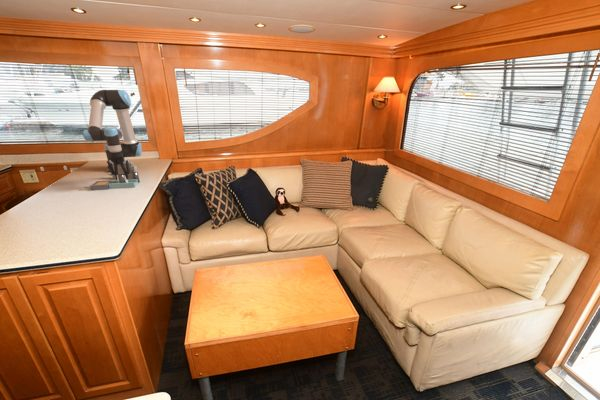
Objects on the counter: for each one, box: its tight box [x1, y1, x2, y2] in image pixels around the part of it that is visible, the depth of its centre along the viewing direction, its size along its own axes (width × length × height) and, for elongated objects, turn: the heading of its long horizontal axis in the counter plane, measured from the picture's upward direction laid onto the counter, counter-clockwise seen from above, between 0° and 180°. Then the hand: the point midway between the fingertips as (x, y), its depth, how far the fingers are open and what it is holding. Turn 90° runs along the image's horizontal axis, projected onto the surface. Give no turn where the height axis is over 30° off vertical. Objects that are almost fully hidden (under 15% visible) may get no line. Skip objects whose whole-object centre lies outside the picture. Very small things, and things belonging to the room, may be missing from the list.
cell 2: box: [131, 170, 141, 184], centre depth 203 cm, size 4×4×9 cm
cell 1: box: [118, 173, 125, 183], centre depth 194 cm, size 4×4×9 cm
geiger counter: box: [105, 161, 139, 180], centre depth 209 cm, size 14×6×25 cm
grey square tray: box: [90, 179, 114, 191], centre depth 192 cm, size 10×10×4 cm
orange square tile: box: [95, 180, 109, 185], centre depth 192 cm, size 7×7×1 cm
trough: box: [108, 179, 139, 190], centre depth 195 cm, size 8×16×4 cm, turn 104°
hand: (123, 183), depth 195 cm, fingers closed on cell 1, 4 cm apart
